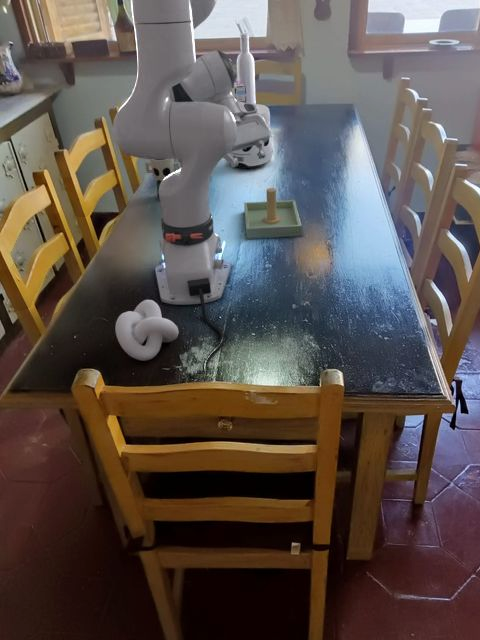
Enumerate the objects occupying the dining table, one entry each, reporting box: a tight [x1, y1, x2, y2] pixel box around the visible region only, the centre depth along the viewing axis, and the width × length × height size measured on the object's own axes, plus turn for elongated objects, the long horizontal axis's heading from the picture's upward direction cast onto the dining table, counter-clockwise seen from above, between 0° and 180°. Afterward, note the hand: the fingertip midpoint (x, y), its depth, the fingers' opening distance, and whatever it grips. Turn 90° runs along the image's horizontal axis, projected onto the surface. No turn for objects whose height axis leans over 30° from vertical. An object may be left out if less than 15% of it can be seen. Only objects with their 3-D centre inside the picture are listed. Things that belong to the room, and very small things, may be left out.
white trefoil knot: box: [114, 299, 180, 362], centre depth 104 cm, size 11×12×9 cm
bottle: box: [236, 32, 257, 104], centre depth 233 cm, size 8×8×30 cm
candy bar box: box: [231, 80, 246, 103], centre depth 217 cm, size 11×5×16 cm, turn 25°
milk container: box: [225, 103, 274, 169], centre depth 182 cm, size 17×17×18 cm
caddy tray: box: [243, 187, 303, 240], centre depth 146 cm, size 17×15×10 cm
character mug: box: [144, 159, 181, 199], centre depth 162 cm, size 11×7×13 cm, turn 87°
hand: (249, 161), depth 146 cm, fingers open, 8 cm apart
